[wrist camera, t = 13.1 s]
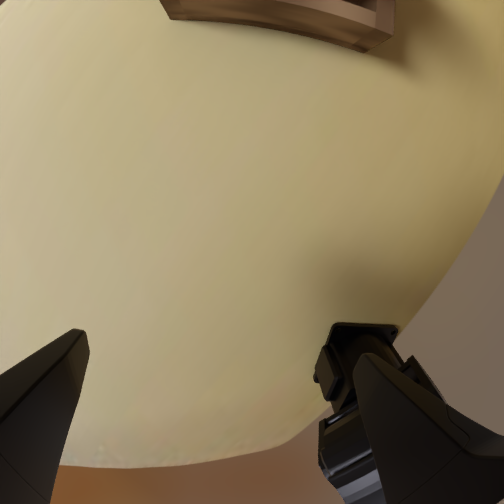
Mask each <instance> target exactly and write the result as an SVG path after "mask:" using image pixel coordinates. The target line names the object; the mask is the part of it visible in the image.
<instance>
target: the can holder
mask: <svg viewBox="0 0 504 504" xmlns="http://www.w3.org/2000/svg"><path fill="white" fill-rule="evenodd" d="M159 1H160V2H161V4H162V6H163V7H164V9H165V11H166V13H167V14H168V16H169V18H170V20H200V21H214V22H225V23H235V24H243V25H250V26H257V27H263V28H269V29H275V30H280V31H285V32H290V33H294V34H299V35H303V36H307V37H312V38H315V39H319V40H323V41H327V42H330V43H334V44H337V45H341V46H344V47H347V48H350V49H353V50H356V51H359V52H362V53H365V52H367V51H368V50H370V49H371V48H373V47H375V46H376V45H378V44H380V43H382V42H383V41H385V40H387V39H388V38H390V37H392V36H393V33H394V15H395V0H159Z"/></svg>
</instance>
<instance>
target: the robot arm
mask: <svg viewBox="0 0 504 504" xmlns="http://www.w3.org/2000/svg"><path fill="white" fill-rule="evenodd" d="M337 328H339V329H338V330H336V329H337ZM393 330H394V331H393ZM392 331H393V332H392ZM397 333H398V329H397V328H396V326H393V325H369V324H350V323H335V324H333V325H332V327H331V329H330V332H329V335H328V338H327V341H326V344H325V345H324V346H323V347H322V349H321V352H320V355H319V357H318V360H317V363H316V365H315V373H314V376H313V379H314V382H315V383H319V384H320V387H321V390H322V393H323V396H324V399H325V400H326V401H330V402H331V405H332V408H333V411H334V414H333V415H331V416H330V417H328V418H327V419H326V418H325V419H323V420H321V421H320V422H319V445H318V448H319V449H318V458H319V459H318V460H319V461H318V463H319V467H320V468H321V469H322V472H323V474H324V475H325V477H326V478H327V480H328V481H329V482H330V483H331V484H332V485H333V486H334V487H335V488H336V489H337V491H338V492H339V494H340V495H341V497H342V498H343V500H344V501H345V504H504V436H502V435H499V434H497V433H494V432H493V431H491V430H489V429H487V428H485V427H484V426H482V425H480V424H478V423H476V422H474V421H473V420H471V419H469V418H468V417H466V416H464V415H463V414H461V413H460V412H458V411H457V410H455V409H454V408H452V407H451V406H449V405H448V404H447V402H446V400H445V399H444V397H443V396H442V394H441V393H440V391H439V390H438V388H437V387H436V385H435V384H434V383H433V381H432V380H431V378H430V377H429V376H428V374H427V373H426V372H425V371H424V369H423V368H422V367H421V365H420V364H419V363H418V361H417V360H416V359H415V358H414V356H413V355H412V356H411V357H410V358H408V359H407V362H405V363H404V362H403V360H402V359H401V357H400V356H399V354H398V353H397V351H396V350H395V348H394V347H393V345H392V344H393V342H394V340H395V338H396V335H397ZM89 355H90V350H89V345H88V340H87V335H86V332H85V331H84V330H80V329H71V330H70V331H68V332H67V333H65V334H63V335H62V336H60V337H59V338H57V339H55V340H54V341H52V342H51V343H49V344H47V345H46V346H44V347H43V348H41V349H40V350H38V351H36V352H35V353H33V354H32V355H30V356H29V357H27V358H25V359H24V360H22V361H21V362H19V363H18V364H16V365H15V366H13V367H12V368H10V369H8V370H7V371H5V372H4V373H2V374H1V375H0V504H49V503H50V500H51V496H52V491H53V487H54V483H55V479H56V474H57V470H58V467H59V463H60V459H61V455H62V452H63V448H64V445H65V441H66V438H67V435H68V431H69V428H70V425H71V422H72V419H73V415H74V412H75V409H76V406H77V404H78V400H79V397H80V393H81V389H82V385H83V381H84V376H85V372H86V368H87V364H88V360H89Z"/></svg>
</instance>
